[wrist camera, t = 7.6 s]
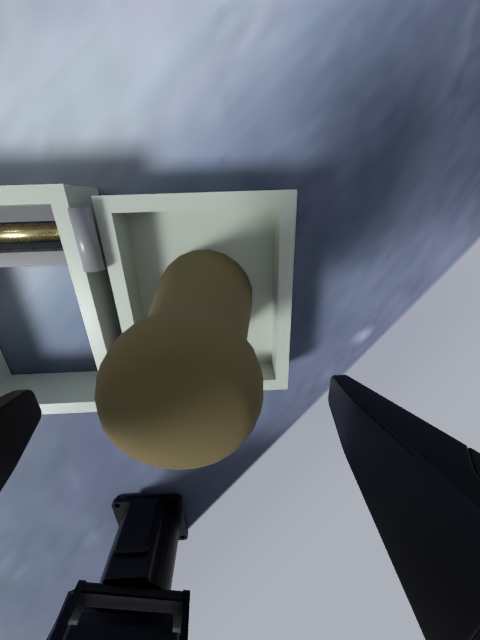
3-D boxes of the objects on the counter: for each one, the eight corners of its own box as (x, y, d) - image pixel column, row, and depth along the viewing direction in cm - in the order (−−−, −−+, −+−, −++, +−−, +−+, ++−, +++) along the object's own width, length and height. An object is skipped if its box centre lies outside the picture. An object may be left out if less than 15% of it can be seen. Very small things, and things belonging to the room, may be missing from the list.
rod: (78, 229, 15) (83, 218, 16) (-59, 233, 15) (-49, 222, 16) (86, 243, 16) (91, 232, 17) (-43, 247, 16) (-34, 236, 17)
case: (149, 377, 20) (133, 411, 17) (4, 384, 20) (-41, 420, 17) (112, 187, 15) (78, 182, 12) (-83, 193, 15) (-174, 190, 12)
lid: (280, 365, 20) (287, 389, 18) (148, 371, 20) (136, 396, 18) (286, 191, 16) (297, 189, 13) (113, 197, 16) (91, 195, 13)
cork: (259, 255, 16) (309, 339, 6) (246, 343, 19) (266, 506, 9) (158, 243, 16) (35, 312, 6) (157, 334, 18) (69, 497, 8)
